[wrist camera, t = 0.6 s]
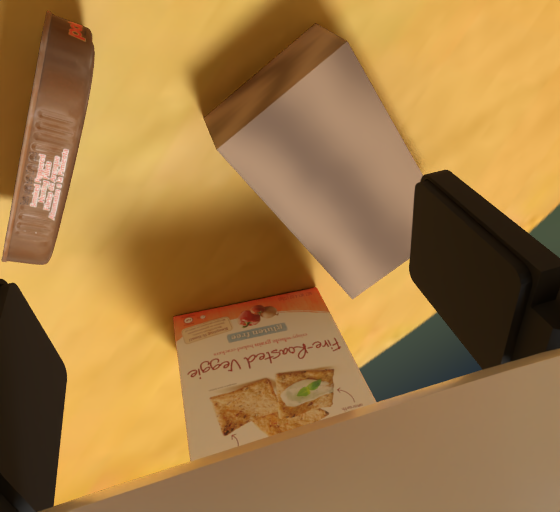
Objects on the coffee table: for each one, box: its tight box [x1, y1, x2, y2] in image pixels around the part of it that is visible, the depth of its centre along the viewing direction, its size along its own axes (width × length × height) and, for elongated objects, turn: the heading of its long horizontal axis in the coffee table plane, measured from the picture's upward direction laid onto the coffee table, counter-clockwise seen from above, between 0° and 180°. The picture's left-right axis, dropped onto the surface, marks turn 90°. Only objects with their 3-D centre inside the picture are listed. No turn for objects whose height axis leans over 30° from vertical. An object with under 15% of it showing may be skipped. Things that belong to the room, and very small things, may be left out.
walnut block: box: [204, 23, 423, 299], centre depth 37 cm, size 10×18×6 cm, turn 36°
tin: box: [2, 11, 95, 265], centre depth 28 cm, size 15×3×8 cm, turn 156°
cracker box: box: [173, 287, 377, 462], centre depth 38 cm, size 14×6×21 cm, turn 93°
